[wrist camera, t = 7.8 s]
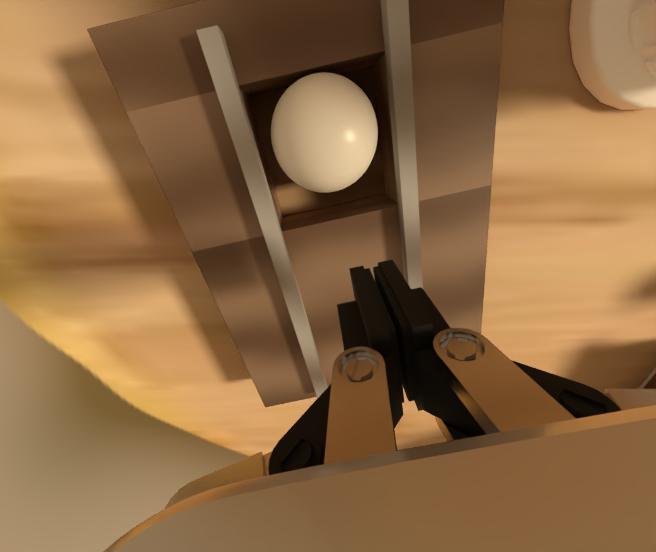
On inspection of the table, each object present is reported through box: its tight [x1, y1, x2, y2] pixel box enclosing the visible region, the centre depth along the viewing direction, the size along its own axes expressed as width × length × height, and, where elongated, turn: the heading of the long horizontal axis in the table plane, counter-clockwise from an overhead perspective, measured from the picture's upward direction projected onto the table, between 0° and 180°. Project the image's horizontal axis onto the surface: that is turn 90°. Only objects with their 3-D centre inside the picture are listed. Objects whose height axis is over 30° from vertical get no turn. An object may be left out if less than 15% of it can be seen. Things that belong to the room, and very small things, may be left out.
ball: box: [271, 72, 378, 193], centre depth 13 cm, size 5×5×5 cm
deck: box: [87, 0, 504, 407], centre depth 16 cm, size 22×16×4 cm
